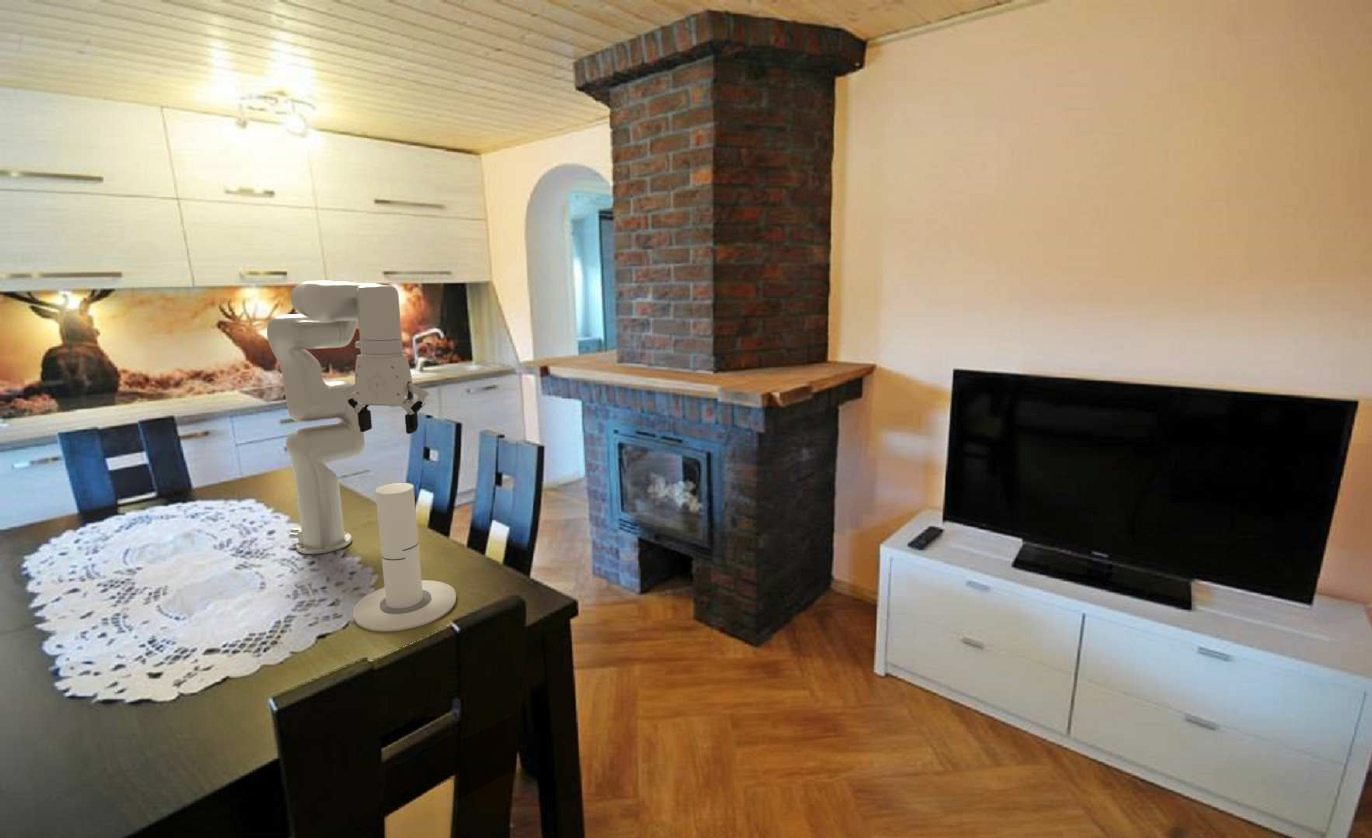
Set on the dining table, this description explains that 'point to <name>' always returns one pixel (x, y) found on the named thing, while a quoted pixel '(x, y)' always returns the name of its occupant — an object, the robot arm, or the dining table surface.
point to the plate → (404, 609)
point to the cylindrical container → (399, 544)
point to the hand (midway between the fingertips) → (388, 431)
